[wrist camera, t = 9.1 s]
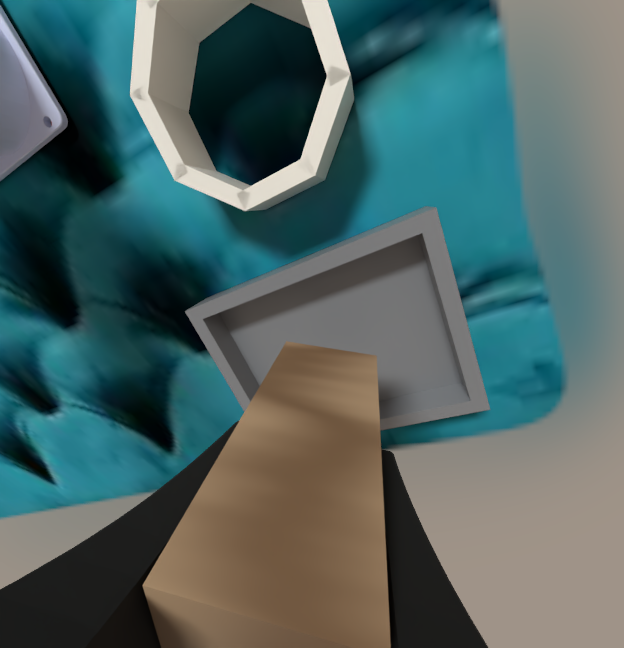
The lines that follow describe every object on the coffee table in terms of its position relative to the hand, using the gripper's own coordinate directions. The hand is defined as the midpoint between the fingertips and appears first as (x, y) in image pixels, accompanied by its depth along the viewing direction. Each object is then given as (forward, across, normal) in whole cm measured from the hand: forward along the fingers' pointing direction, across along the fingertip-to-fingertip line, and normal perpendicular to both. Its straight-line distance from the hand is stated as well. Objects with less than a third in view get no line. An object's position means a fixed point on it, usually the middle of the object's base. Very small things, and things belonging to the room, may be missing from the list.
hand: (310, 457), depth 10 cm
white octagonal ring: (+9, +5, -12) cm, 16 cm away
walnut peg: (+4, 0, 0) cm, 4 cm away
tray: (+9, 0, 0) cm, 9 cm away
